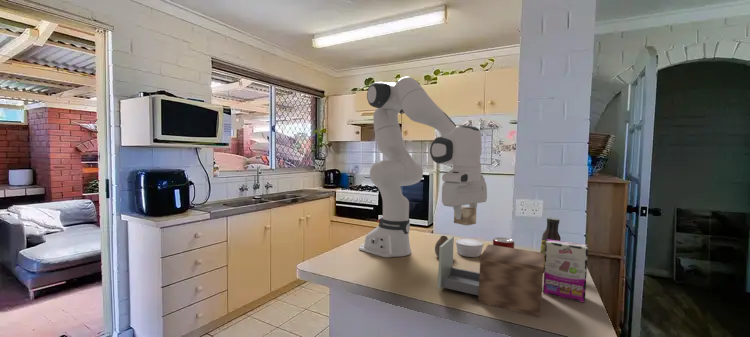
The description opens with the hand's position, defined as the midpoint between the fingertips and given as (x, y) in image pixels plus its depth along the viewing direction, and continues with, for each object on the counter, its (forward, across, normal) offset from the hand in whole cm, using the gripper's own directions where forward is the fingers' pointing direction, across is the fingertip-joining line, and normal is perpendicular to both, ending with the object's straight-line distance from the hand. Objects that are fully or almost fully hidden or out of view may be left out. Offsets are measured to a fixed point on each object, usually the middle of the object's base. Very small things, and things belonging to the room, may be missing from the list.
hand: (465, 218), depth 104 cm
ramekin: (+22, -29, -17) cm, 40 cm away
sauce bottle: (+22, -37, +12) cm, 44 cm away
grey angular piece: (+21, +2, +3) cm, 21 cm away
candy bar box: (+22, -19, +24) cm, 38 cm away
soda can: (+22, -21, +2) cm, 30 cm away
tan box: (+22, -2, +15) cm, 27 cm away
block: (+2, 0, 0) cm, 2 cm away
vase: (+22, -16, -21) cm, 34 cm away
